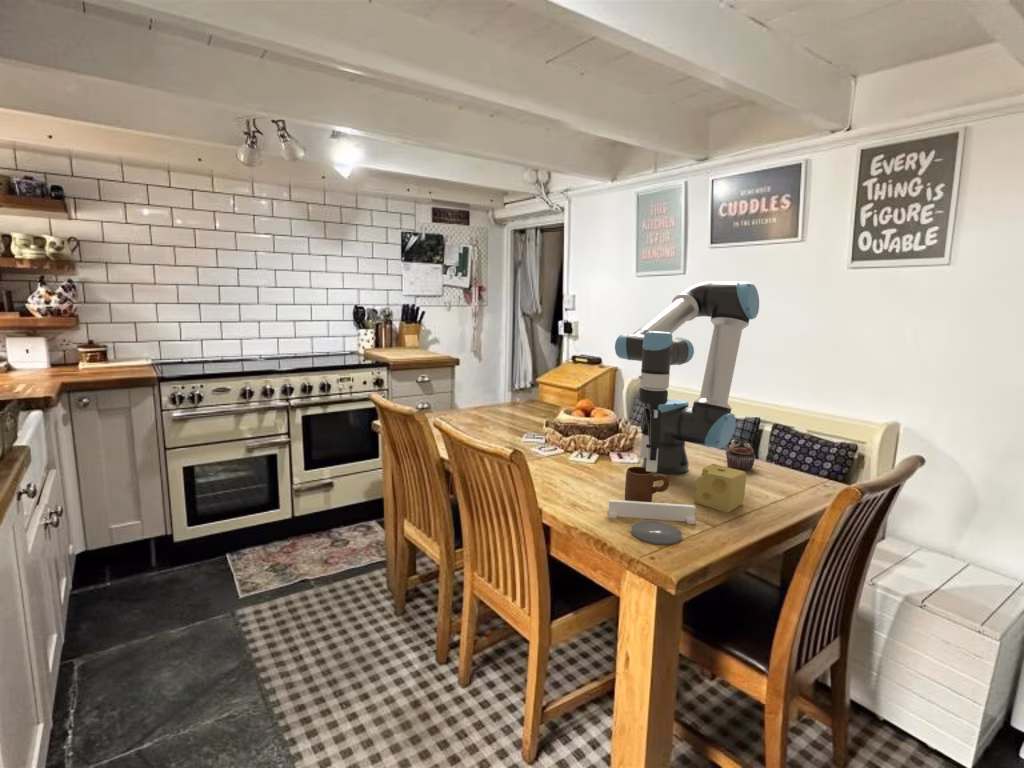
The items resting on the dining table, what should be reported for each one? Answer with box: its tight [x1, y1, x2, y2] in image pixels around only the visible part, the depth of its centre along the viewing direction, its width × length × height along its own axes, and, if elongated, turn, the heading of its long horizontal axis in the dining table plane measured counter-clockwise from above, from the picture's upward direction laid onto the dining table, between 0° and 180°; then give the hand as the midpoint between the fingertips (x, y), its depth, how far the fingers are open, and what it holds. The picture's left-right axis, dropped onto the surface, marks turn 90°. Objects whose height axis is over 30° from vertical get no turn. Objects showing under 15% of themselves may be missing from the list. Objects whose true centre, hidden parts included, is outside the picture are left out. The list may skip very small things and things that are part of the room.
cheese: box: [693, 463, 747, 514], centre depth 154 cm, size 10×11×10 cm
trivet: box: [630, 520, 683, 546], centre depth 134 cm, size 12×12×1 cm
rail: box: [607, 499, 696, 525], centre depth 143 cm, size 4×22×4 cm, turn 83°
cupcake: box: [725, 437, 757, 472], centre depth 189 cm, size 10×10×10 cm
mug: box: [624, 466, 670, 502], centre depth 153 cm, size 12×8×9 cm, turn 66°
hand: (647, 464), depth 151 cm, fingers open, 13 cm apart
